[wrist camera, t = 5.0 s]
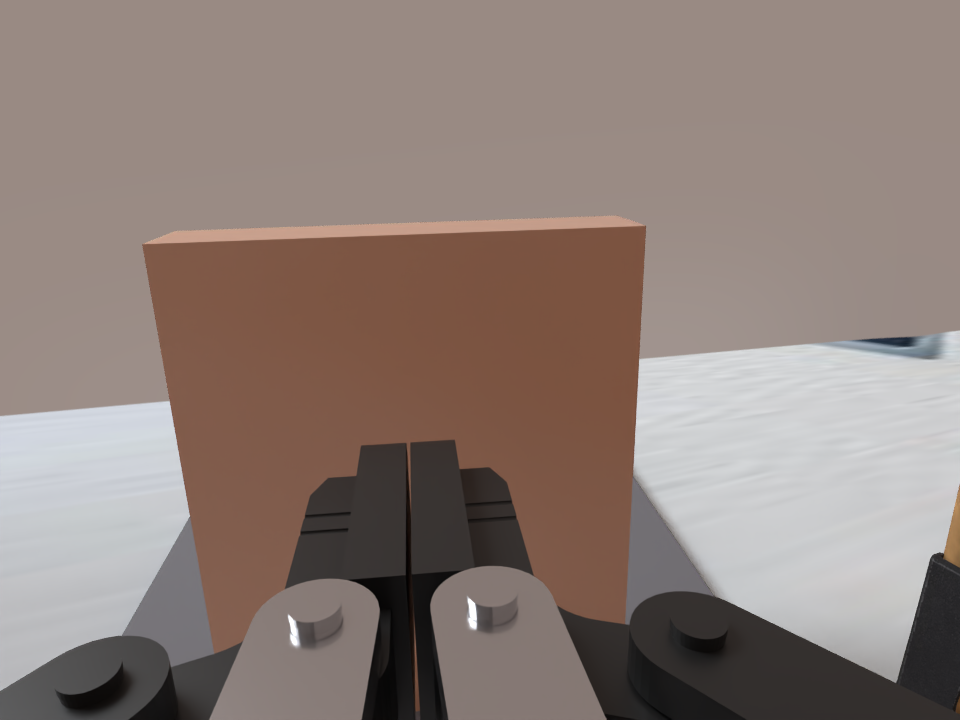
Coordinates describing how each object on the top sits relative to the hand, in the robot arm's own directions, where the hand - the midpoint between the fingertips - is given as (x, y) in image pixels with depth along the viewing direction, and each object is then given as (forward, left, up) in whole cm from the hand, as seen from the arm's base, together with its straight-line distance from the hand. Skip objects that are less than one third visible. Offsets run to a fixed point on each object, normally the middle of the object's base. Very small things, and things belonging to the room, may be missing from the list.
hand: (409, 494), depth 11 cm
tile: (0, +5, -8) cm, 10 cm away
